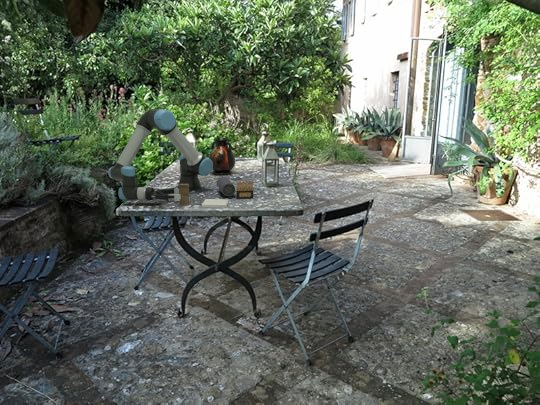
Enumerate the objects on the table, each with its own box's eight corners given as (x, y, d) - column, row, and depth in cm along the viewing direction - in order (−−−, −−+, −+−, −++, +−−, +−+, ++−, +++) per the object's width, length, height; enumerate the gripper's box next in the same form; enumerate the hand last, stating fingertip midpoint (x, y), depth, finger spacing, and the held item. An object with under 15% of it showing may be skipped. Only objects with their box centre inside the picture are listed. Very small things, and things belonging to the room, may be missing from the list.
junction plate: (205, 201, 273) (205, 199, 273) (228, 201, 273) (228, 199, 273) (201, 207, 260) (201, 204, 259) (226, 207, 259) (226, 205, 259)
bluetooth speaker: (215, 191, 302) (215, 176, 300) (229, 190, 304) (229, 175, 302) (221, 198, 281) (221, 182, 278) (236, 197, 283) (236, 182, 281)
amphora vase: (202, 174, 360) (201, 138, 353) (220, 170, 377) (219, 136, 370) (223, 177, 348) (222, 140, 341) (241, 173, 365) (240, 138, 358)
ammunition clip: (236, 199, 280) (236, 180, 277) (236, 198, 282) (235, 179, 279) (253, 198, 282) (253, 179, 279) (253, 197, 283) (253, 178, 281)
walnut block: (181, 203, 268) (180, 183, 265) (189, 203, 268) (188, 183, 265) (179, 205, 264) (178, 185, 261) (188, 205, 264) (187, 185, 261)
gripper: (152, 195, 277) (187, 195, 277) (140, 205, 253) (178, 205, 252) (151, 183, 275) (186, 183, 275) (139, 192, 251) (177, 192, 251)
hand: (182, 194), depth 264 cm, fingers open, 13 cm apart
